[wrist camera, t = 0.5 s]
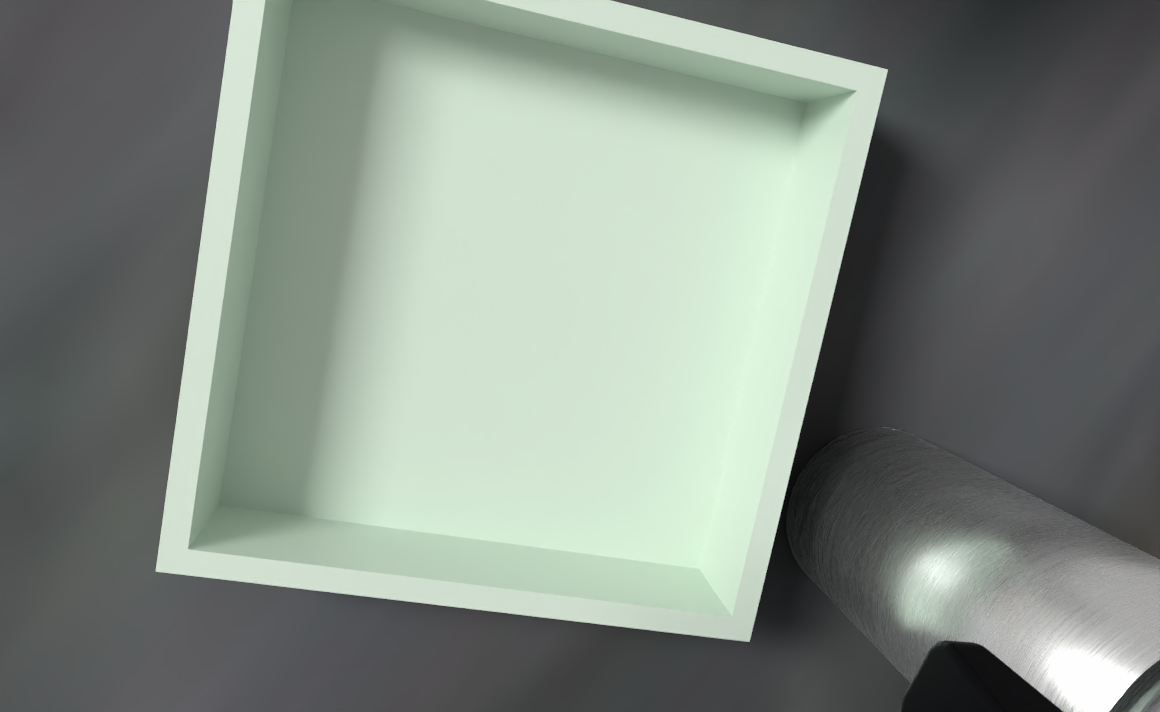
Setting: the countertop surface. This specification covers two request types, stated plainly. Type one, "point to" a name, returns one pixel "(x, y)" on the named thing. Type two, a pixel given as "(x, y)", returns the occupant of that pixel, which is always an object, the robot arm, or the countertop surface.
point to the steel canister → (976, 570)
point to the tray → (510, 306)
